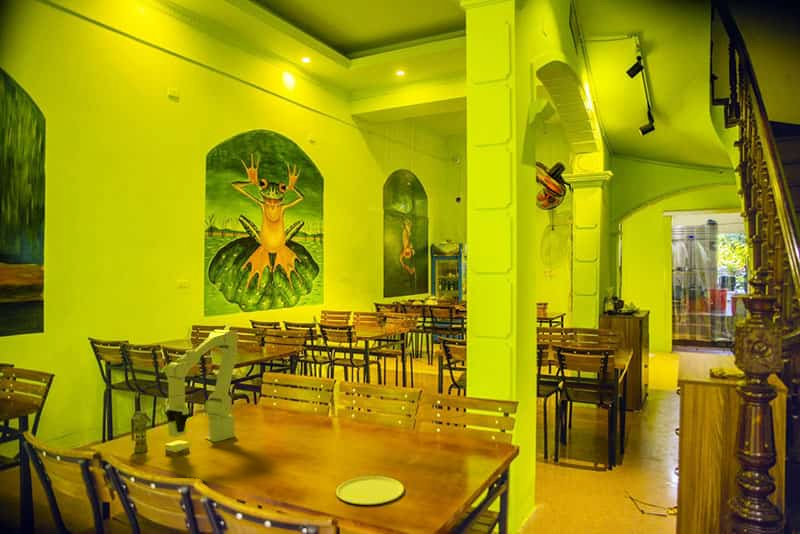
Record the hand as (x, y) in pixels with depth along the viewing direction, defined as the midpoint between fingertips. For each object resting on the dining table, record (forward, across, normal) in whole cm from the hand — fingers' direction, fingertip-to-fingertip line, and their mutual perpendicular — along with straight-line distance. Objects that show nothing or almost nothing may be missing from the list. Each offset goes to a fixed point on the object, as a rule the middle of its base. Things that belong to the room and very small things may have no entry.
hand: (177, 430), depth 206 cm
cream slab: (+7, 0, 0) cm, 7 cm away
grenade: (+8, -14, -8) cm, 18 cm away
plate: (+9, +82, +21) cm, 85 cm away
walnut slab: (+9, 0, 0) cm, 9 cm away
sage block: (+2, 0, 0) cm, 2 cm away
